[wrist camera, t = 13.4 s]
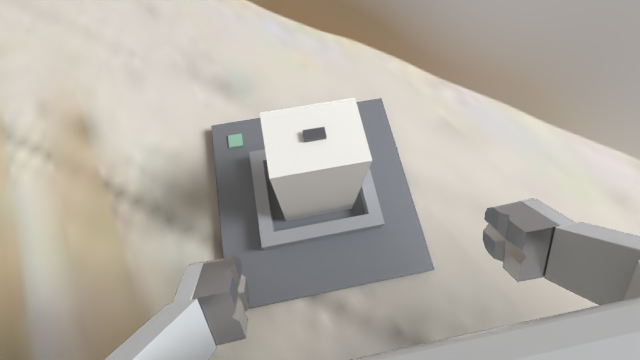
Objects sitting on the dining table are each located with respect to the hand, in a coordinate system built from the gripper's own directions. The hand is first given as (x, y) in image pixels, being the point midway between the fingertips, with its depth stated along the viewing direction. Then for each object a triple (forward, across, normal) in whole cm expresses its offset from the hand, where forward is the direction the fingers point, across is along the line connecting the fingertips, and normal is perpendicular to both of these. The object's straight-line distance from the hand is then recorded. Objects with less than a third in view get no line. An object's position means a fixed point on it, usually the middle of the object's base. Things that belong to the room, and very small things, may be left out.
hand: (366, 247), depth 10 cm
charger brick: (+15, +1, +6) cm, 16 cm away
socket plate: (+16, +1, +6) cm, 17 cm away
